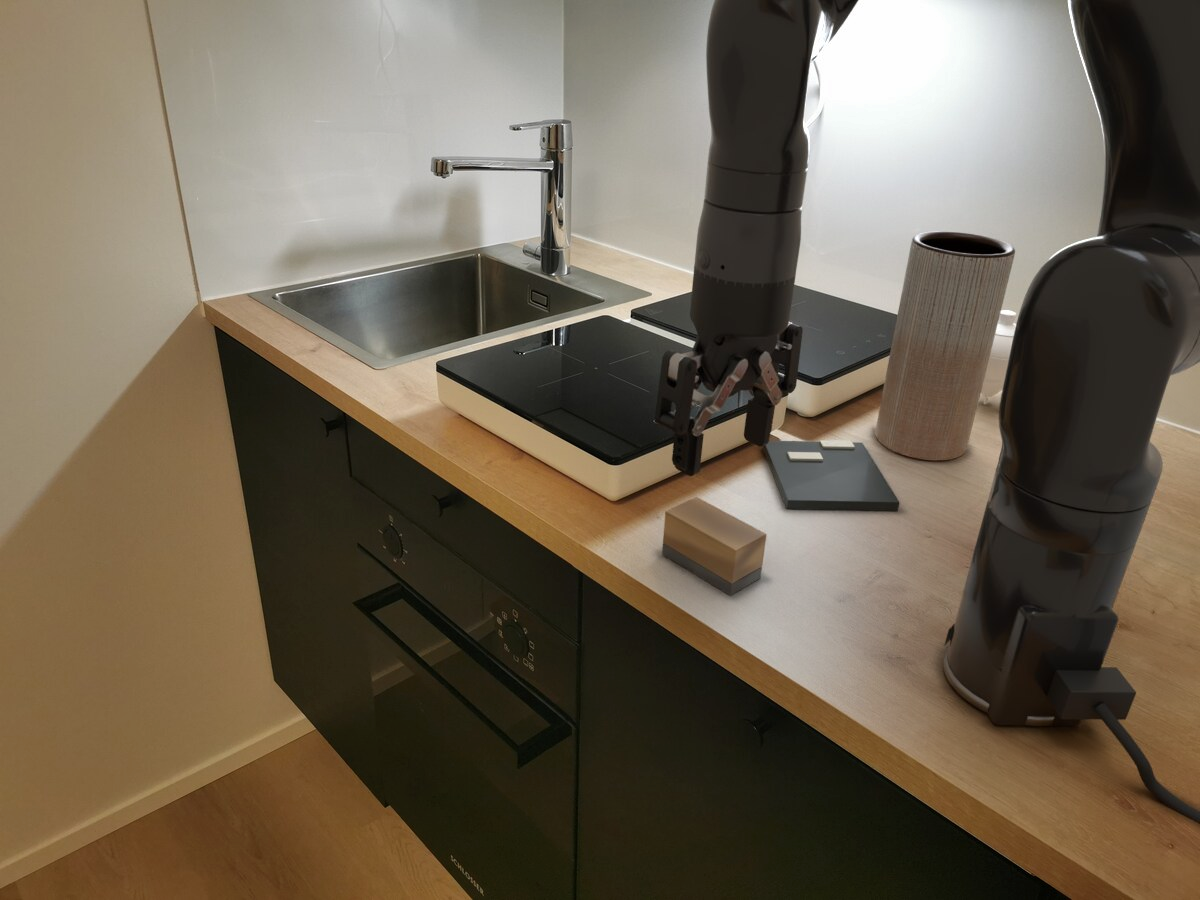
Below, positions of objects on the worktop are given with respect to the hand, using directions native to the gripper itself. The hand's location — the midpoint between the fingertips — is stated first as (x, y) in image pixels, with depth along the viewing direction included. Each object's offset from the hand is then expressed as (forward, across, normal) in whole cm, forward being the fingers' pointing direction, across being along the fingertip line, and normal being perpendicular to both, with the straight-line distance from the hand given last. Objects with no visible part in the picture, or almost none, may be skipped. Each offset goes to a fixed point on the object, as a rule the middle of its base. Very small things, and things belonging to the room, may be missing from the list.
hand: (722, 456), depth 75 cm
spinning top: (+11, +53, +2) cm, 54 cm away
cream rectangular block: (+10, +21, +6) cm, 24 cm away
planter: (+11, +37, +2) cm, 39 cm away
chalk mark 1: (+10, +26, +6) cm, 29 cm away
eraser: (+11, 0, 0) cm, 11 cm away
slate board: (+11, +21, +3) cm, 24 cm away
